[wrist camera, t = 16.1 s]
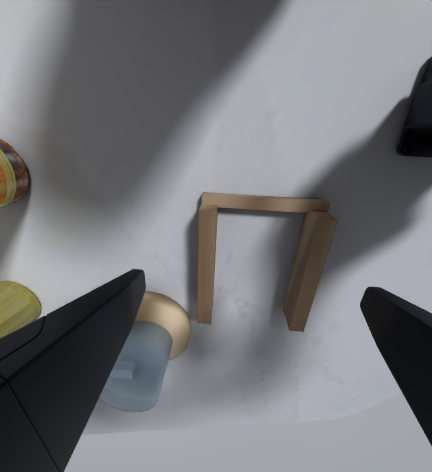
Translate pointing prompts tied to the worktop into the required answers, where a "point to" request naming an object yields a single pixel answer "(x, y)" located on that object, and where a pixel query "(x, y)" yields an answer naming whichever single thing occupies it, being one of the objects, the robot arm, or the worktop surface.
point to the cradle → (306, 259)
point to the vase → (16, 307)
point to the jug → (139, 369)
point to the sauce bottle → (11, 175)
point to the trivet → (167, 319)
